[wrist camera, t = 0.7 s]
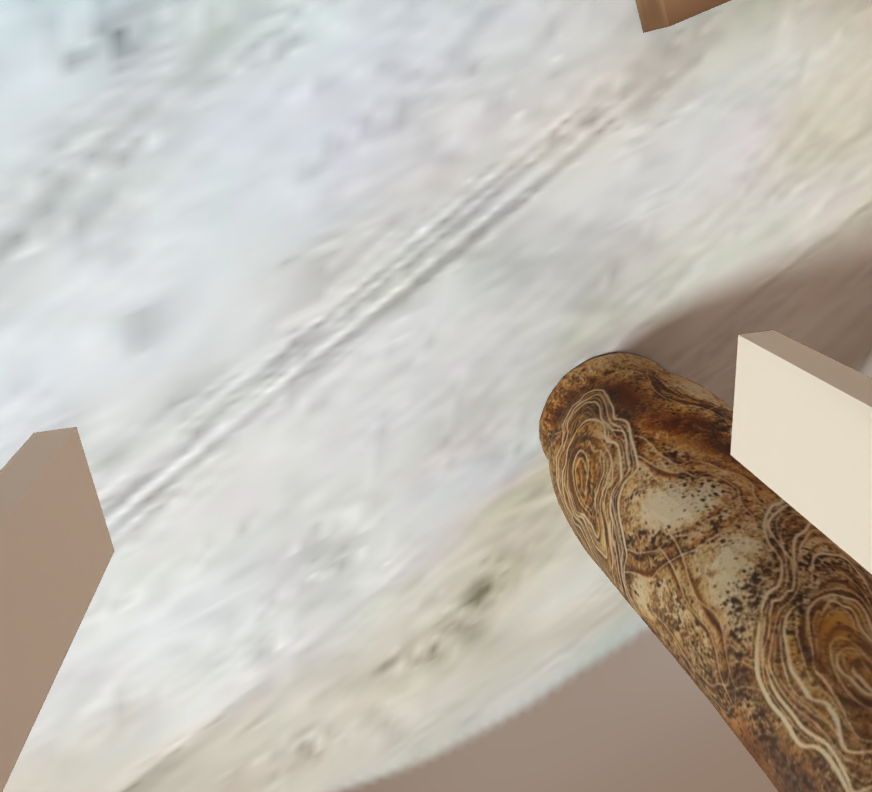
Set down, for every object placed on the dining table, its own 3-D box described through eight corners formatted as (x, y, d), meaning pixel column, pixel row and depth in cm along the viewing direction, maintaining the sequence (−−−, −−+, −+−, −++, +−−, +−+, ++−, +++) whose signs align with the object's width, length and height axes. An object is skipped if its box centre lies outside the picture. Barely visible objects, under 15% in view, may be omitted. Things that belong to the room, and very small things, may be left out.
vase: (709, 450, 46) (1277, 948, 19) (560, 528, 47) (900, 1124, 19) (653, 310, 42) (1270, 683, 15) (491, 397, 43) (795, 914, 15)
